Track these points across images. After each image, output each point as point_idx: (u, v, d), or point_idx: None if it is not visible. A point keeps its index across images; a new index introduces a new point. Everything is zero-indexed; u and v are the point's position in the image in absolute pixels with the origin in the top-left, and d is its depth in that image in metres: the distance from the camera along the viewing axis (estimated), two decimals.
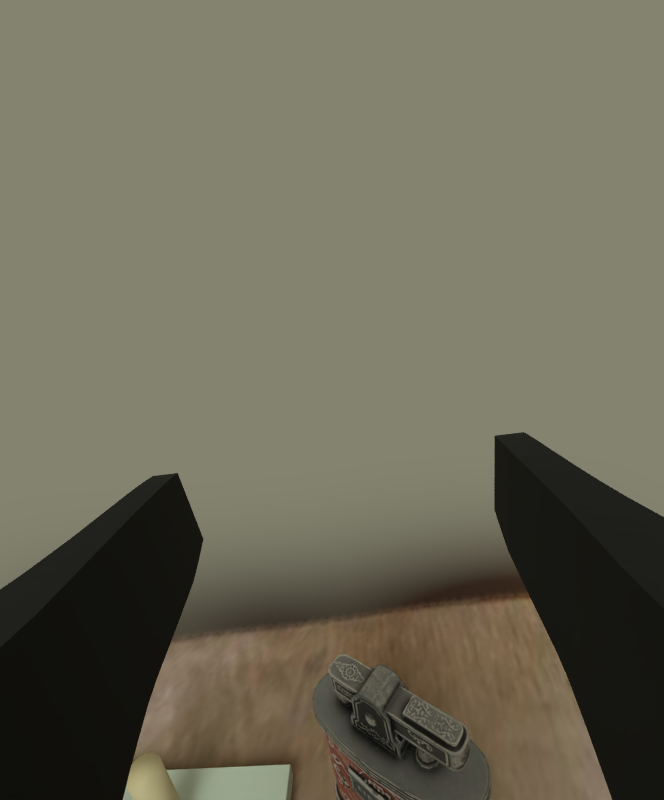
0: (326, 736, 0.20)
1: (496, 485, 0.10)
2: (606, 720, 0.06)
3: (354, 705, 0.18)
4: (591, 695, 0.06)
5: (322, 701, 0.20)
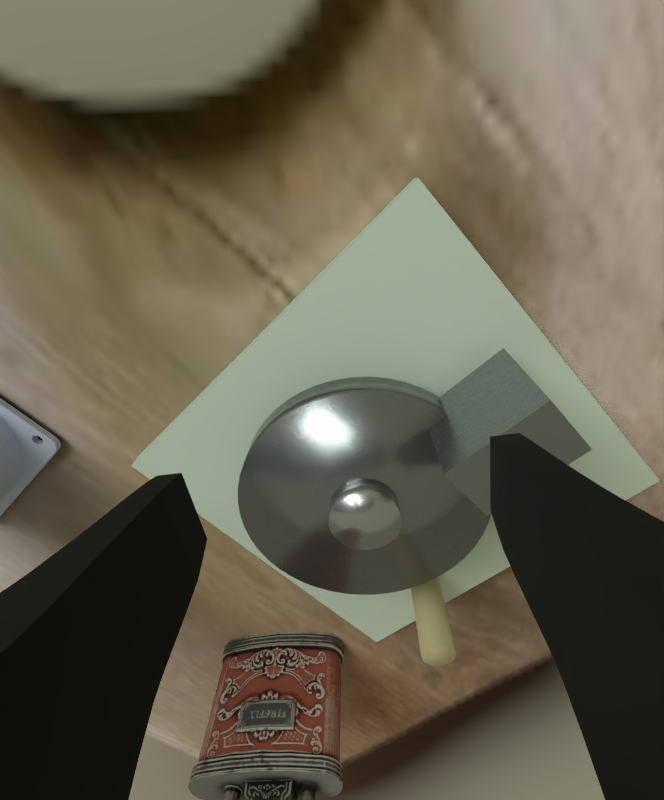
0: (323, 733, 0.23)
1: (492, 485, 0.10)
2: (599, 720, 0.06)
3: None
4: (584, 695, 0.06)
5: (325, 778, 0.22)
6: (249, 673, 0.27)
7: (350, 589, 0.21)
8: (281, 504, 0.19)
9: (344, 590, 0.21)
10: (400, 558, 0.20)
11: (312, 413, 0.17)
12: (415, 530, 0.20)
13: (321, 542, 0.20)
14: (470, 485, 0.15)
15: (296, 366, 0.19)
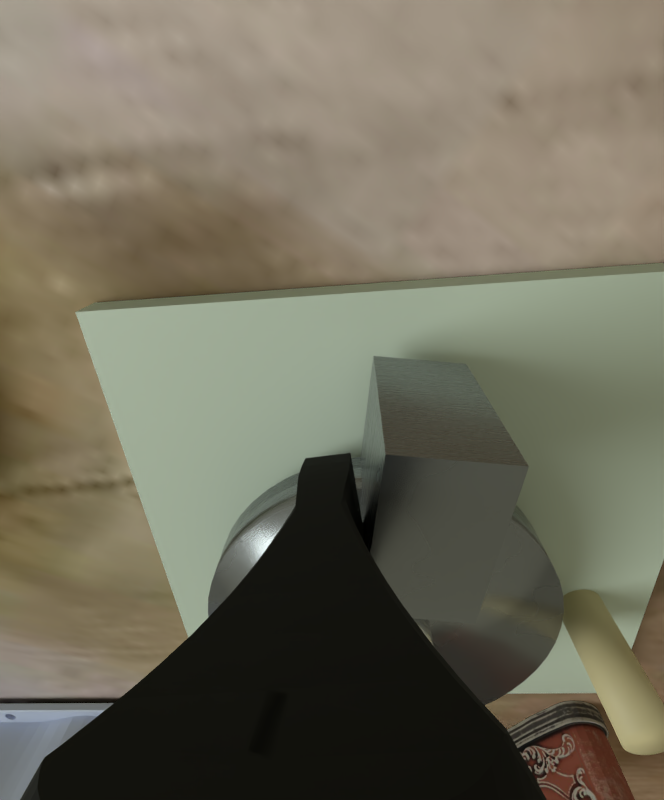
0: None
1: None
2: None
3: None
4: None
5: None
6: None
7: None
8: None
9: None
10: (482, 653, 0.14)
11: (229, 578, 0.13)
12: None
13: None
14: (409, 605, 0.09)
15: (207, 535, 0.16)
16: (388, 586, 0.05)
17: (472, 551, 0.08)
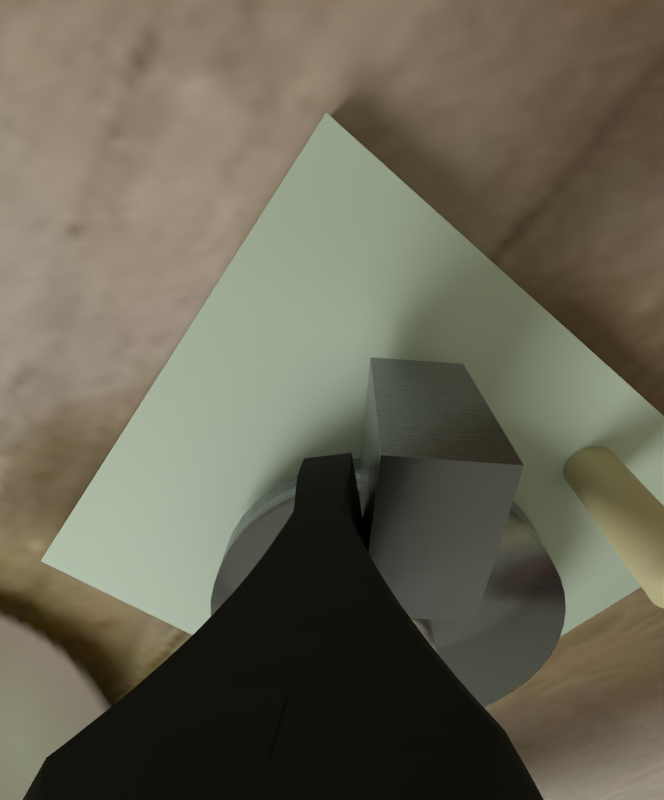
0: None
1: None
2: None
3: None
4: None
5: None
6: None
7: None
8: None
9: None
10: (486, 653, 0.14)
11: (231, 580, 0.13)
12: None
13: None
14: (408, 605, 0.09)
15: None
16: (386, 586, 0.05)
17: (470, 550, 0.08)
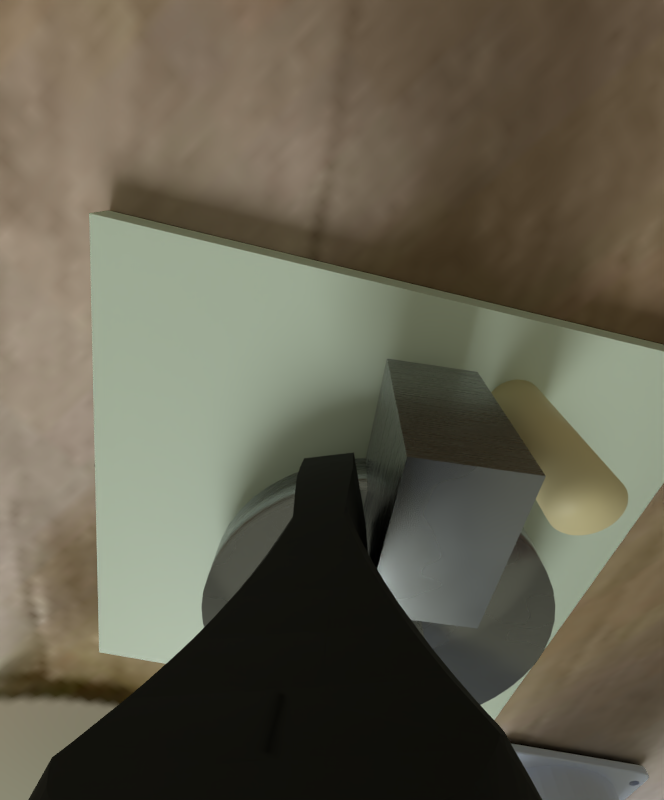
0: None
1: None
2: None
3: None
4: None
5: None
6: None
7: None
8: None
9: None
10: (472, 658, 0.14)
11: (226, 572, 0.13)
12: None
13: None
14: (414, 607, 0.09)
15: None
16: (386, 586, 0.05)
17: (482, 556, 0.08)
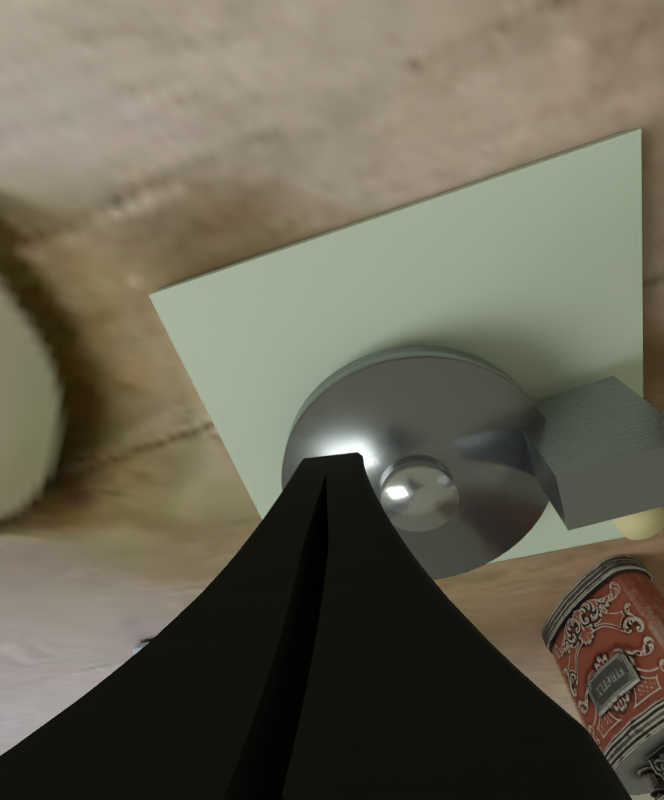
0: None
1: None
2: None
3: None
4: None
5: None
6: (572, 652, 0.24)
7: None
8: None
9: None
10: (421, 549, 0.19)
11: (420, 371, 0.16)
12: (451, 525, 0.19)
13: None
14: (572, 495, 0.14)
15: (272, 453, 0.20)
16: (433, 582, 0.05)
17: (629, 503, 0.14)
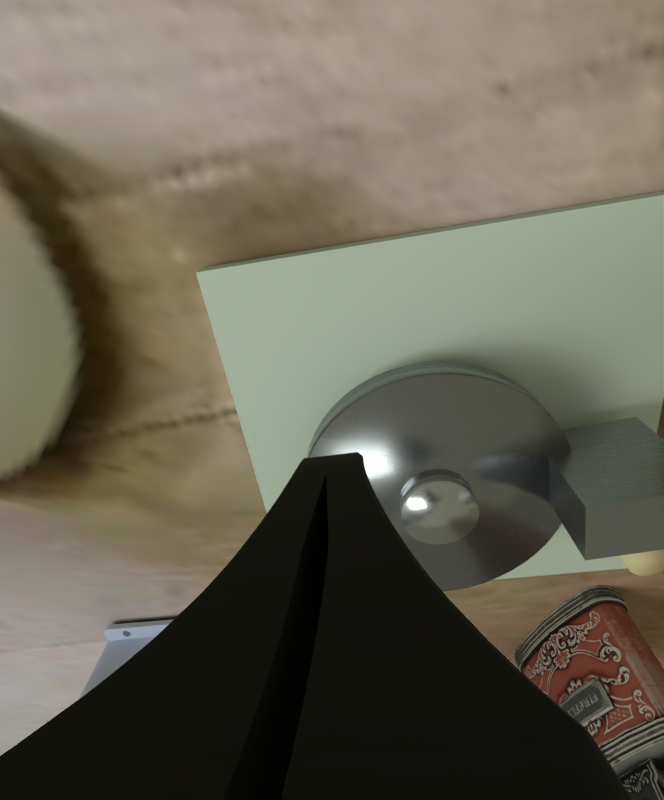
0: (645, 695, 0.20)
1: None
2: None
3: None
4: None
5: None
6: (545, 674, 0.25)
7: None
8: None
9: None
10: (427, 561, 0.20)
11: (463, 388, 0.16)
12: (461, 541, 0.19)
13: None
14: (597, 528, 0.15)
15: (291, 448, 0.20)
16: (433, 582, 0.05)
17: (647, 541, 0.15)
